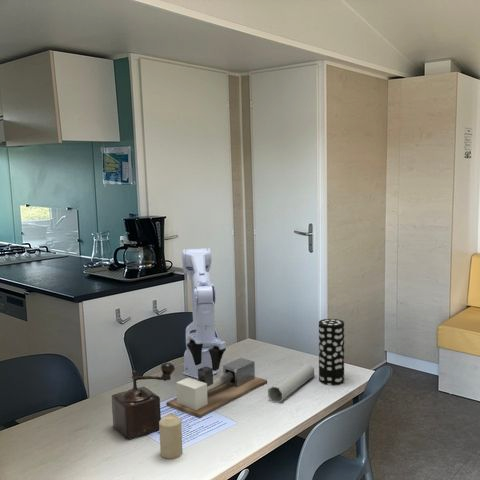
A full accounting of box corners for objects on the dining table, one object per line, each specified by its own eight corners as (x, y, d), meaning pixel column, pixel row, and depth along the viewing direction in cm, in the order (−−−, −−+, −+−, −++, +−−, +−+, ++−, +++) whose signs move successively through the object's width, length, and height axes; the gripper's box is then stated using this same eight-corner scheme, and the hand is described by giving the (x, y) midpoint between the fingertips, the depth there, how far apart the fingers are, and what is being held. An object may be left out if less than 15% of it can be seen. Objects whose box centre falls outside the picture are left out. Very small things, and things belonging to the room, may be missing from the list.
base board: (166, 405, 167) (166, 402, 167) (235, 373, 192) (234, 370, 192) (199, 417, 159) (199, 414, 158) (267, 382, 183) (267, 380, 183)
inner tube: (186, 398, 166) (185, 374, 165) (227, 379, 180) (227, 357, 179) (193, 401, 164) (192, 377, 163) (235, 381, 178) (234, 359, 177)
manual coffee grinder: (128, 441, 146) (125, 376, 143) (112, 426, 155) (108, 365, 152) (179, 424, 155) (177, 363, 152) (161, 411, 164) (158, 352, 161)
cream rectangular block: (177, 403, 167) (176, 382, 166) (188, 397, 170) (188, 377, 169) (195, 410, 161) (195, 388, 161) (207, 404, 165) (206, 383, 164)
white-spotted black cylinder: (345, 377, 186) (346, 319, 183) (342, 386, 178) (342, 326, 176) (321, 374, 189) (321, 318, 186) (316, 383, 181) (316, 324, 178)
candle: (161, 448, 142) (159, 411, 141) (182, 447, 142) (181, 410, 141) (160, 459, 136) (158, 421, 135) (182, 458, 137) (180, 420, 136)
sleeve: (223, 383, 181) (222, 365, 180) (241, 374, 188) (240, 357, 187) (237, 387, 177) (236, 369, 176) (254, 378, 184) (254, 361, 183)
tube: (301, 362, 190) (265, 387, 169) (314, 360, 187) (279, 385, 166) (305, 377, 190) (270, 404, 169) (319, 375, 187) (285, 402, 166)
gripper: (179, 323, 170) (181, 365, 172) (213, 331, 161) (215, 376, 162) (195, 318, 175) (197, 359, 177) (229, 326, 166) (230, 369, 168)
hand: (206, 367), depth 170 cm, fingers open, 7 cm apart
